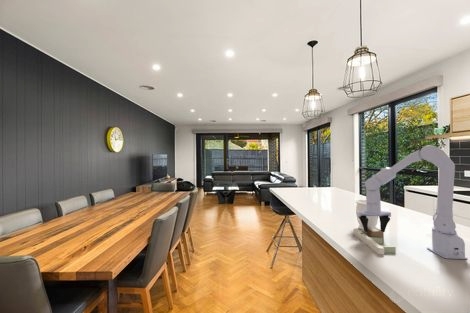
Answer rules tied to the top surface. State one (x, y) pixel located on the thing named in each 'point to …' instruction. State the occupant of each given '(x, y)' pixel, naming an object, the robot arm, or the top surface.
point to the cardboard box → (375, 232)
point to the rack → (374, 242)
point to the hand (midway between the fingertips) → (374, 231)
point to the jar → (371, 219)
